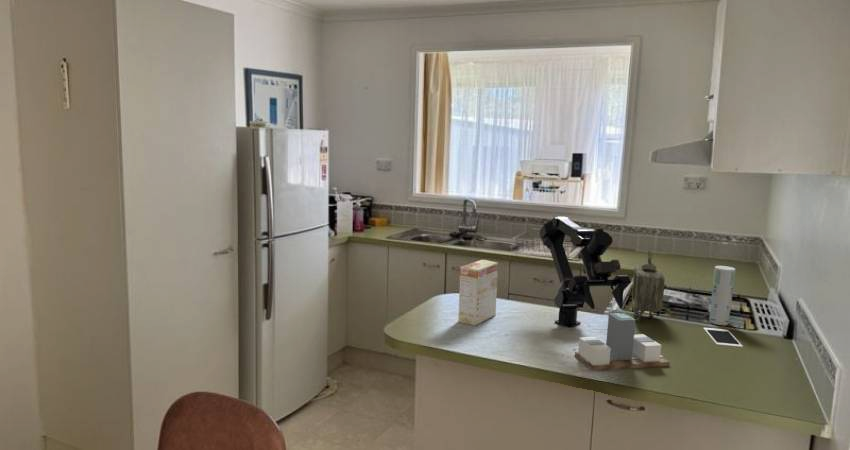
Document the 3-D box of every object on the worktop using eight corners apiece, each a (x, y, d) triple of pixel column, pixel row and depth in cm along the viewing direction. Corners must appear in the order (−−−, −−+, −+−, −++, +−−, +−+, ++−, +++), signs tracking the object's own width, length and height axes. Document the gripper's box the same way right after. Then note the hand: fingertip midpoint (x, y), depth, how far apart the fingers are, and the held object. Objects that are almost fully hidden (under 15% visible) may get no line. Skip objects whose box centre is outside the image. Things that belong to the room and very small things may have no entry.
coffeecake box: (479, 311, 213) (481, 259, 210) (496, 315, 209) (499, 262, 206) (457, 321, 201) (459, 266, 198) (474, 326, 197) (477, 269, 194)
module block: (605, 352, 173) (608, 312, 171) (620, 351, 174) (624, 312, 172) (616, 360, 167) (619, 319, 165) (631, 359, 168) (635, 318, 166)
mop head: (630, 310, 219) (636, 245, 215) (656, 313, 217) (662, 247, 212) (633, 322, 205) (639, 253, 201) (660, 325, 203) (667, 255, 199)
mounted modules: (593, 365, 164) (594, 348, 163) (578, 353, 172) (579, 336, 172) (659, 360, 168) (661, 344, 168) (641, 349, 177) (643, 333, 176)
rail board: (592, 370, 163) (593, 365, 163) (574, 355, 174) (575, 350, 173) (669, 365, 168) (669, 360, 168) (647, 351, 179) (647, 346, 178)
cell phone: (727, 331, 201) (727, 329, 200) (743, 348, 185) (743, 346, 185) (703, 329, 202) (703, 327, 202) (716, 345, 186) (716, 343, 186)
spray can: (730, 326, 204) (737, 270, 201) (709, 323, 206) (716, 268, 203) (727, 320, 211) (733, 266, 207) (707, 318, 213) (713, 264, 209)
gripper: (575, 249, 176) (590, 296, 167) (631, 249, 180) (648, 294, 171) (561, 268, 185) (575, 313, 176) (615, 268, 189) (630, 312, 180)
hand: (607, 308), depth 176 cm, fingers open, 9 cm apart
